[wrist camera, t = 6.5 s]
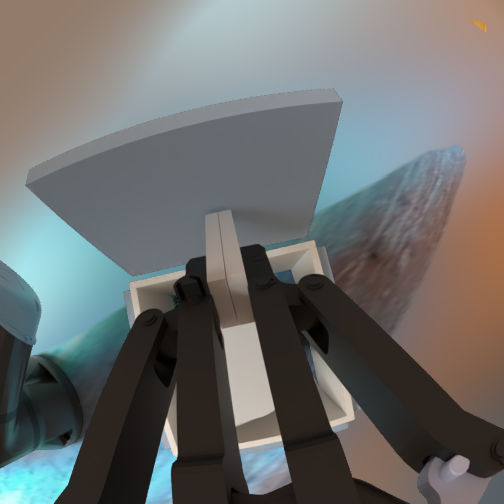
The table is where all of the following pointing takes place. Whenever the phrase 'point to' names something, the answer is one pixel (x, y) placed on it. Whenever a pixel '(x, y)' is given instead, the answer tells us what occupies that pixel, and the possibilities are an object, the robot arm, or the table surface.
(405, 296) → the table surface
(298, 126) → the flap
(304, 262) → the carton
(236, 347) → the supplement box
